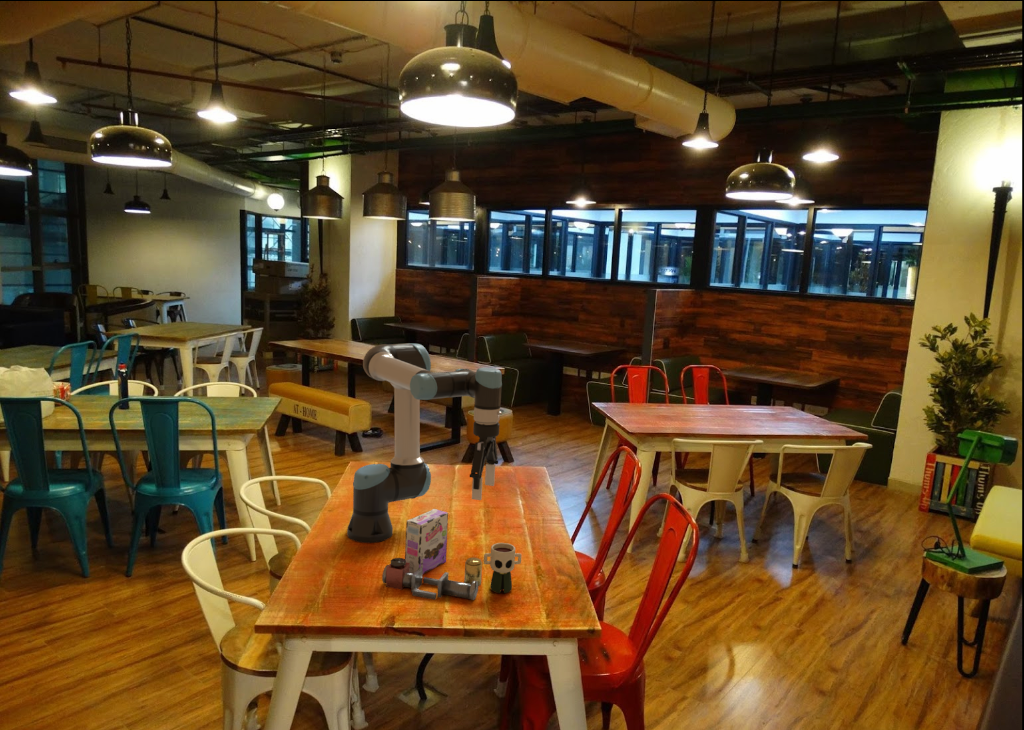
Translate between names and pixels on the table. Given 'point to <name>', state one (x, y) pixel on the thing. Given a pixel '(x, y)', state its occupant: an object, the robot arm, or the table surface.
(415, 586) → the pipe run
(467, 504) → the table surface
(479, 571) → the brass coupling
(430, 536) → the candy box
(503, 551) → the character mug
